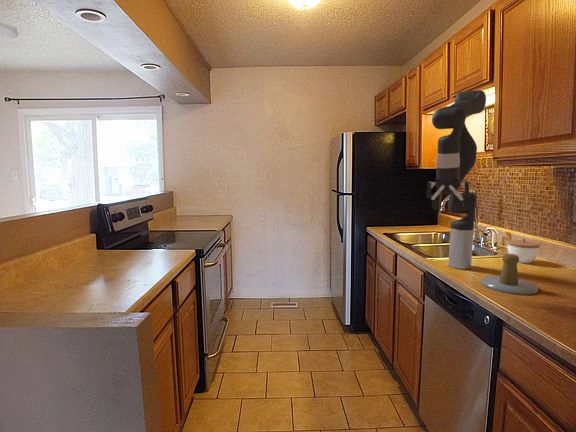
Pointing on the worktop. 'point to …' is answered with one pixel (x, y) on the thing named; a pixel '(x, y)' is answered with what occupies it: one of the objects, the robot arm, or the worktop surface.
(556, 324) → the worktop surface
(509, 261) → the cork
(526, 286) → the slate plate
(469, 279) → the worktop surface
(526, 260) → the lidded bowl
